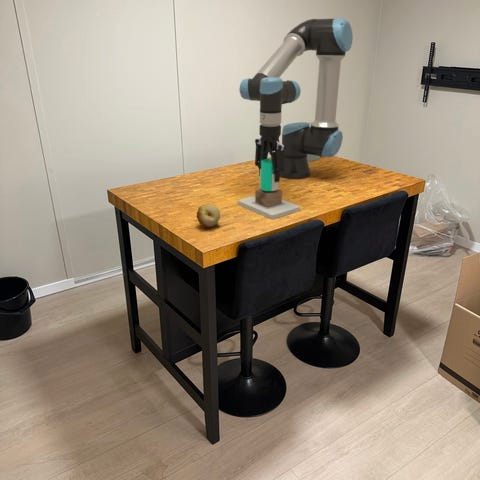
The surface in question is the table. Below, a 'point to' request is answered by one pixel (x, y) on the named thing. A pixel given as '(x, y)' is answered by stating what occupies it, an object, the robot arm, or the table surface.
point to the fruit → (208, 215)
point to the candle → (266, 174)
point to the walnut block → (268, 197)
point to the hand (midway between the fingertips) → (268, 187)
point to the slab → (271, 211)
